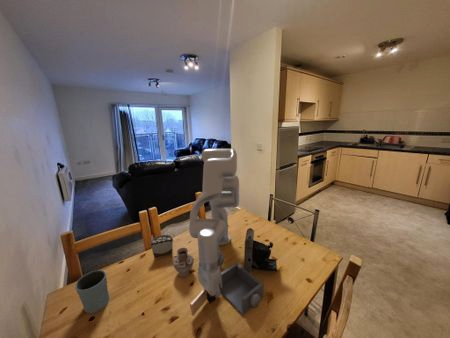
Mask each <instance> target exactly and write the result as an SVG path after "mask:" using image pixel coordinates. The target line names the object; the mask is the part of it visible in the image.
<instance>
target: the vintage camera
mask: <svg viewBox="0 0 450 338" xmlns="http://www.w3.org/2000/svg"><path fill="white" fill-rule="evenodd" d="M254 235H255V231H254V229H253V228H251V227H250V228H247V230H246V234H245V240H244V255H243V257H244V258H243V268H244V269H245V270H246V271H248V272H249V273H250V274H252V270H257V271H263V272H274V273H277V272H278V266H277V265H278V264H277V258H270V257H271V255H272V249H273V247H274V243H273V242H272V241H269V244H268V245H267V244H266V243H263V242H260V241H257V240H254V237H255V236H254Z"/></svg>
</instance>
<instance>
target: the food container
mask: <svg viewBox="0 0 450 338" xmlns="http://www.w3.org/2000/svg"><path fill="white" fill-rule="evenodd" d="M173 242H175V240H174V238H173V237H172V236H171V235H169V234H161V235H158V236H156V237H154V238H153V239H151V241H150V244H149V247H151V250H152V251H151V252H152V254H153V258H154V260H156V259H160V258H161V259H162V258H164V257H169V256H173V251H174V249H173V246H174V245H173V244H174V243H173Z"/></svg>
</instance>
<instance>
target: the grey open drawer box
mask: <svg viewBox="0 0 450 338" xmlns="http://www.w3.org/2000/svg"><path fill="white" fill-rule="evenodd" d="M221 276H222V290H220V294H221V295H223V296H224V298H225V299H226V300H227V301H228V302H229V303H230V304H231V305H232V306H233V307H234V309H236V310H237V312H238V313H239V314H240V315H241V316H243V315H244V314H245V313H246V312H247V313H248V311H249V310H250V309H252V308H257V307H258V306H259V304H260V303H261V300H262V299H263V298H264V283H262V281H260V280H259V279H257V278H256V277H255V276H254V275H253V274H252V273H249V272H248V271H246V270H245V269H244V266H243V264H242V263H238V262H236V263H233V265H231V266H229V267H227V268H226V269H224V270H223V271H221Z"/></svg>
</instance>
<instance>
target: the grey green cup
mask: <svg viewBox="0 0 450 338" xmlns="http://www.w3.org/2000/svg"><path fill="white" fill-rule="evenodd" d="M108 287H109V286H108V281H107V273H106V271H105V270H103V269H95V270H92V271H90V272H88V273H85V274H84V275H82V276H81V277H80V278H79V279H77V281H76V283H75V287H74V288H75V290H76V293H77V294H78V296H79V298H80V302H81V304H82V306H83V310H84V311H85V313H86V314H95V313H98V312H99V311H101V310H103V309H104V308H105V307H106V306H107V305H108V303H109V301H110V294H109V293H110V292H109V290H108V289H109V288H108Z"/></svg>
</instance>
